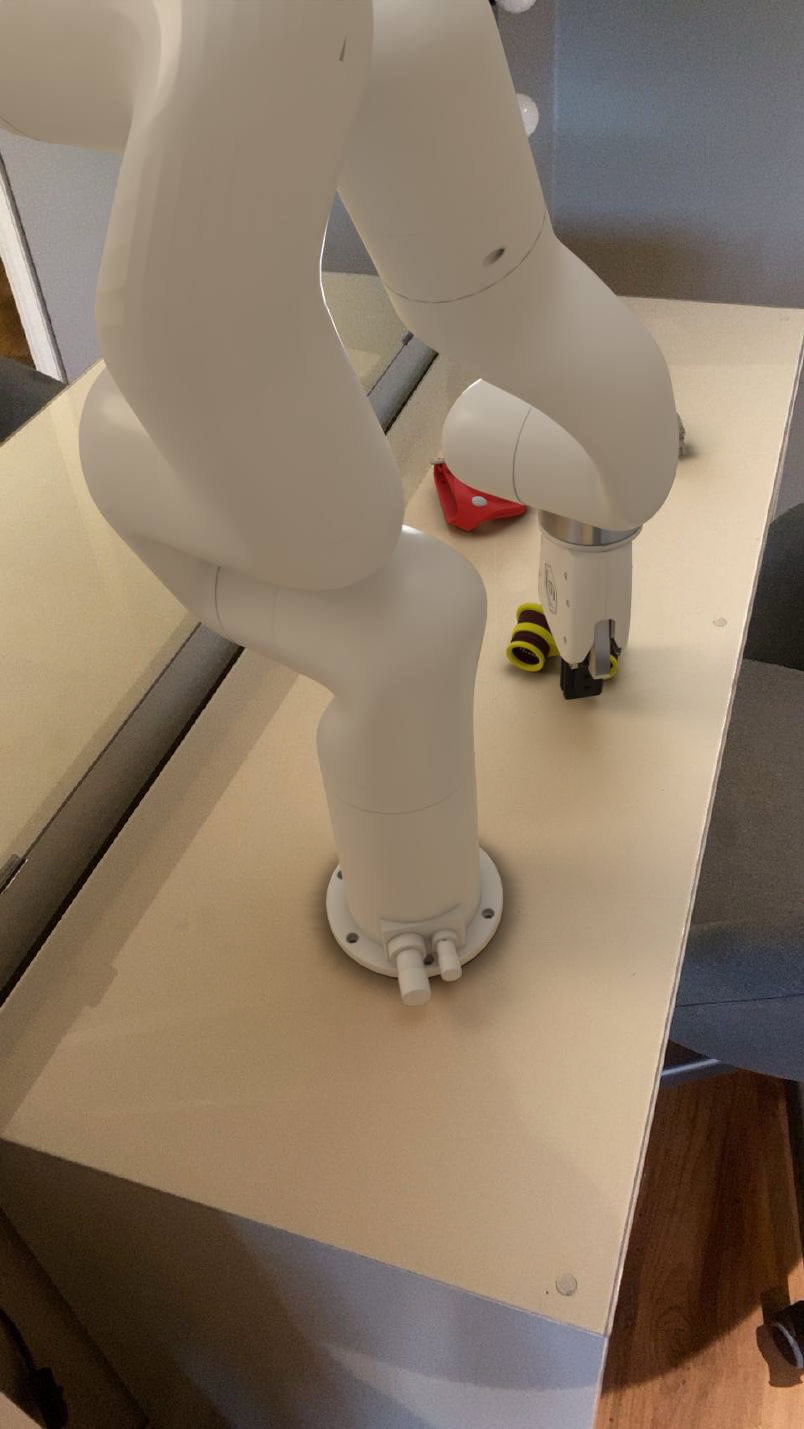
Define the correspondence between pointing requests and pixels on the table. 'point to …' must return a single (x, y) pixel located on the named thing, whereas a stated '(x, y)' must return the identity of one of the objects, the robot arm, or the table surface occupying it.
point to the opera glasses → (538, 640)
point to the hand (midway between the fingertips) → (580, 691)
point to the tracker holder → (469, 500)
